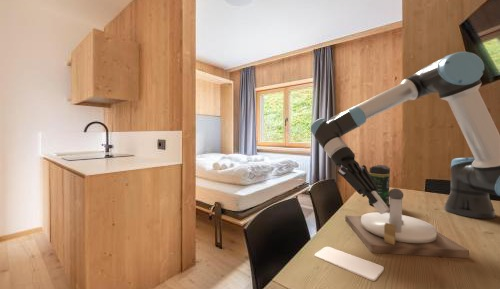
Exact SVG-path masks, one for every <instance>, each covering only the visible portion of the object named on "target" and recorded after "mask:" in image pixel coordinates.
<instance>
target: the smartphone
mask: <svg viewBox="0 0 500 289" xmlns="http://www.w3.org/2000/svg"><path fill="white" fill-rule="evenodd" d="M314 257H315V258H317V259H319V260H322V261H324V262H327V263H329V264H332V265H334V266H336V267H339V268H341V269H343V270H345V271H347V272H350V273H353V274H355V275H358V276H360V277H362V278H364V279H367V280H369V281H376V280H377V279H379V276H380V275H381V274H382V273H383V272H384V266H382V265H380V264H378V263H374V262H373V261H370V260H367V259H363V258H361V257H358V256H356V255H354V254H350V253H346V252H345V251H342V250H339V249H336V248H333V247H331V246H325V247H323V248H321V249H319V250H318V251H317V252H315V253H314Z"/></svg>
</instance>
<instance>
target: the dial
mask: <svg viewBox="0 0 500 289" xmlns="http://www.w3.org/2000/svg"><path fill="white" fill-rule="evenodd" d="M403 200H404V193H403V191H402V190H401V189H399V188H396V187H395V188H392V189H389V212H385V213H384V214H380V213H379V212H378V211H375V212H367V213H364V214H362V215H360V216H361V225H362V227H363V228H364V229H365V230H367V231H369V232H371V233H373V234H375V235H378V236H380V237H383V238H384V228H385V223H388V224H393V225H396V226H395V241H400V242H407V243H429V242H433V241H435V240H436V235H437V232H438V231H437V228H436V227H435V226H434V225H432V224H431V223H429V222H427V221H424V220H423V219H419V218H417V217H413V216H408V215H404V214H403Z"/></svg>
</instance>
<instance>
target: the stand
mask: <svg viewBox="0 0 500 289" xmlns="http://www.w3.org/2000/svg"><path fill="white" fill-rule="evenodd" d="M361 216H362V215H345V218H344V219H345V222H346V223H347V225H348V226H349V227H350V228H351V229H352V230H353V232H354V233H355V234H356V236H357V237H358V238H359V239H360V240H361V241H362V243H363V244H364V245H365V247H366V248H367V249H368V251H369V252H371V253H372V254H373V253H376V254H377V253H378V254H389V255H390V254H394V255H408V256H409V255H411V256H426V257H443V258H444V257H445V258H446V257H447V258H458V259H459V258H462V259H463V258H465V259H469V258H470V250H469V249H467V248H466V247H464V246H462V245H460V244H459V243H457V242H456V241H454V240H452V239H450V238H449V237H447V236H445V235H443V234H442V233H440V232H438V231H437V235H436V240H435V241H433V242H429V243H407V242H400V241H395V226H396V225H393V224H388V223H385V228H384V238H383V237H380V236H378V235H375V234H373V233H371V232H369V231H367V230H365V229H364V228H363V227H362V225H361Z"/></svg>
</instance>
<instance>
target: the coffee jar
mask: <svg viewBox="0 0 500 289" xmlns="http://www.w3.org/2000/svg"><path fill="white" fill-rule="evenodd" d="M368 172H369V174H370V175H371V177H372V179H373V180H374V182H375V183H376V185H377V187H378V189H377V190H376V192H377V194H378V195H379V196H380V197H381V199H382V200H383V201H384V202H385V204H386V205H387V206H389V205H390V197H389V191H390V176H391V168H390V167H389V166H387V165H384V164H377V165H373V166H371V167H369V171H368ZM368 205H372V206H374V205H373V204H372V203H371V202H370V200H369V199H368Z"/></svg>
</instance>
